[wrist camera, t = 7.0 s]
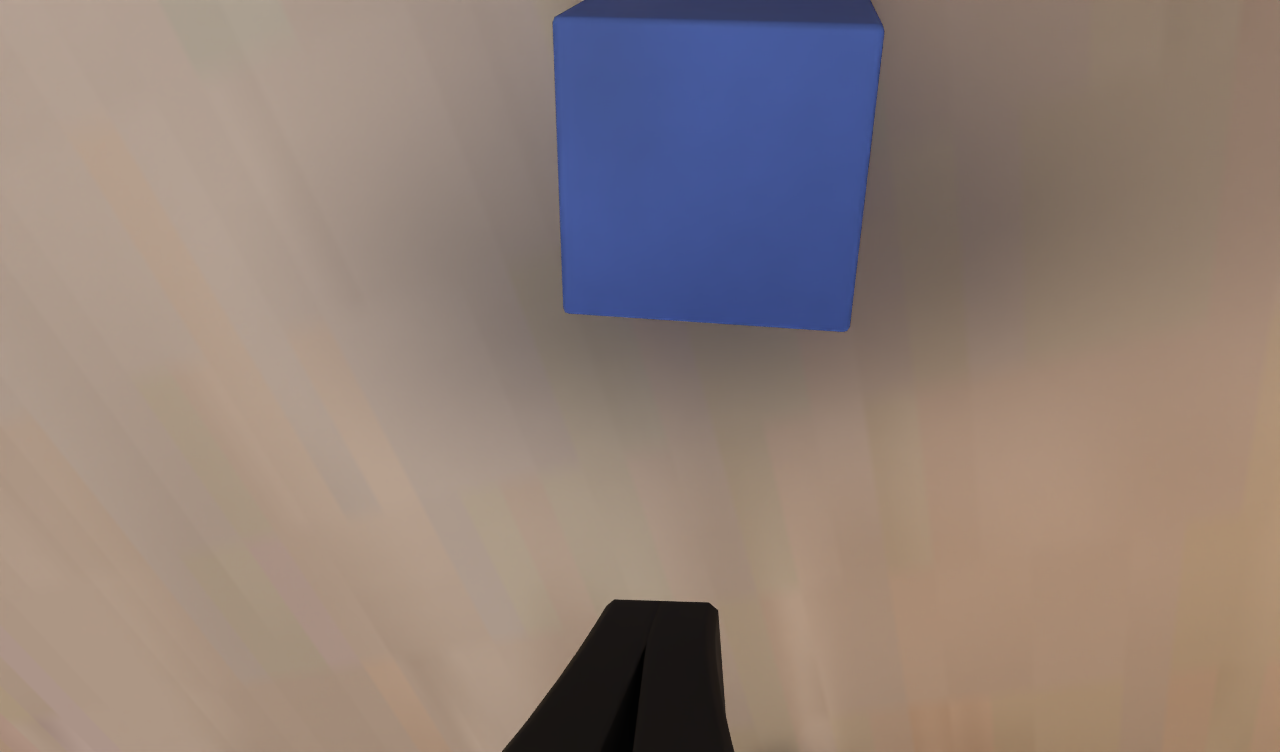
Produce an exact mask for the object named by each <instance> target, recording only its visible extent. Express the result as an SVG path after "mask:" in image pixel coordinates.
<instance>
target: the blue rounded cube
mask: <svg viewBox="0 0 1280 752" xmlns="http://www.w3.org/2000/svg"><path fill="white" fill-rule="evenodd" d="M883 40H884V28H883V25H882V23H881V21H880V19H879V17H878V15H877V13H876V11H875V9H874V7H873V5H872V3H871V1H870V0H584V1H582V2H580V3H579V4H577V5H575V6H573V7H572V8H570V9H568V10H566V11H565V12H563V13H561V14H559V15H558V16H556V17H554V20H553V44H554V71H555V98H556V125H557V152H558V179H559V206H560V233H561V260H562V286H563V308H564V310H565V312H566V313H569V314H584V315H599V316H614V317H628V318H643V319H658V320H673V321H688V322H703V323H718V324H733V325H748V326H763V327H778V328H793V329H808V330H823V331H838V332H845V331H847V330H848V329H849V327H850V322H851V313H852V305H853V296H854V287H855V279H856V270H857V262H858V253H859V245H860V236H861V228H862V219H863V211H864V202H865V193H866V185H867V176H868V168H869V159H870V151H871V142H872V134H873V125H874V116H875V108H876V99H877V91H878V82H879V74H880V65H881V57H882V48H883Z"/></svg>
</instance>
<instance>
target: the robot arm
mask: <svg viewBox="0 0 1280 752" xmlns="http://www.w3.org/2000/svg"><path fill="white" fill-rule="evenodd" d="M502 752H734V749H733V745H732V741H731V737H730V732H729V728H728V724H727V719H726V713H725V699H724V685H723V671H722V657H721V644H720V630H719V616H718V610H717V609H716V608H715V607H714V606H712V605H711V604H710V603H707V602H675V601H644V600H613V601H612V602H611V603H610V604H608V605H607V606H606V608H605V609H604V611H603V613H602V614H601V616H600V617H599V619H598V621H597V622H596V624H595V625H594V627H593V628H592V630H591V632H590V633H589V635H588V636H587V638H586V639H585V641H584V642H583V644H582V645H581V647H580V648H579V650H578V651H577V653H576V654H575V656H574V657H573V659H572V660H571V662H570V663H569V664H568V666H567V667H566V669H565V670H564V672H563V673H562V674H561V676H560V677H559V679H558V680H557V681H556V683H555V684H554V685H553V687H552V688H551V689H550V691H549V692H548V693H547V695H546V696H545V698H544V699H543V700H542V702H541V703H540V704H539V706H538V707H537V708H536V710H535V711H534V712H533V714H532V715H531V716H530V718H529V719H528V720H527V722H526V723H525V724H524V725H523V727H522V728H521V729H520V730H519V732H518V733H517V734H516V735H515V736H514V738H513V739H512V740H511V741H510V742H509V744H508V745H507V746H506V747H505V748H504V750H503V751H502Z"/></svg>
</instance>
